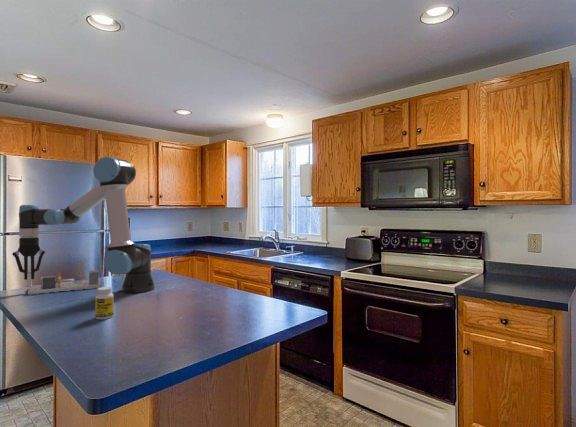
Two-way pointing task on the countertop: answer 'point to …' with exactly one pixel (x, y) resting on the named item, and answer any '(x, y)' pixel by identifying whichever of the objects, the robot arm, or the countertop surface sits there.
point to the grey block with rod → (51, 281)
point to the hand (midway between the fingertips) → (29, 286)
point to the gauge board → (69, 285)
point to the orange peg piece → (59, 278)
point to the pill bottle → (104, 303)
